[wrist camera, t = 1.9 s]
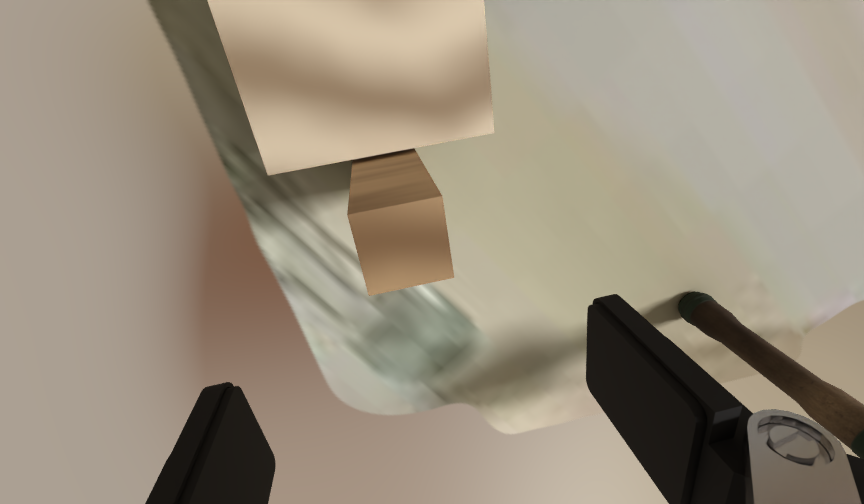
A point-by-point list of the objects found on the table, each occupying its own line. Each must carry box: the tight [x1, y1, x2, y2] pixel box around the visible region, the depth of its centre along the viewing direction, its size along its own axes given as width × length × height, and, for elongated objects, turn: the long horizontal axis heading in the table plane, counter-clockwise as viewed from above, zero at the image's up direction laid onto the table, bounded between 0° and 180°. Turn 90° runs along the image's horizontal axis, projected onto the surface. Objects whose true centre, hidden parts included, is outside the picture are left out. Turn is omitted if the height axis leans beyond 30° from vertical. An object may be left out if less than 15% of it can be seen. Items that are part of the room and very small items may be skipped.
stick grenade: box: [678, 292, 864, 459], centre depth 33 cm, size 8×9×30 cm
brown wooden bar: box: [347, 148, 454, 296], centre depth 26 cm, size 4×4×18 cm
